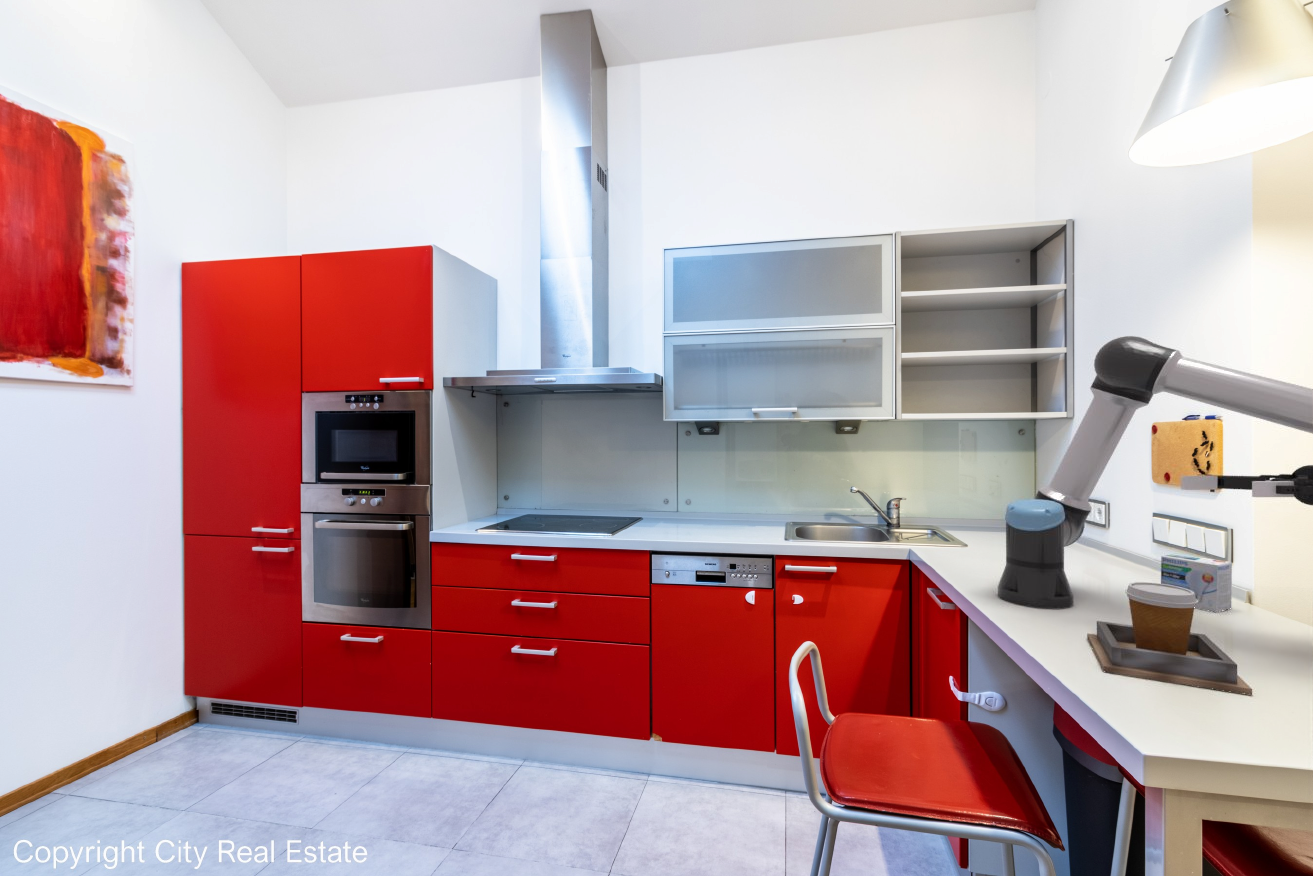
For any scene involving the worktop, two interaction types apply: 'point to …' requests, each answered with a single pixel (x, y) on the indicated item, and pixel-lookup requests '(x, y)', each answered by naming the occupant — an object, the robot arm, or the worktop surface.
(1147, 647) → the disposable coffee cup
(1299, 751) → the worktop surface
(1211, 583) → the light bulb box
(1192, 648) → the cup holder plate
